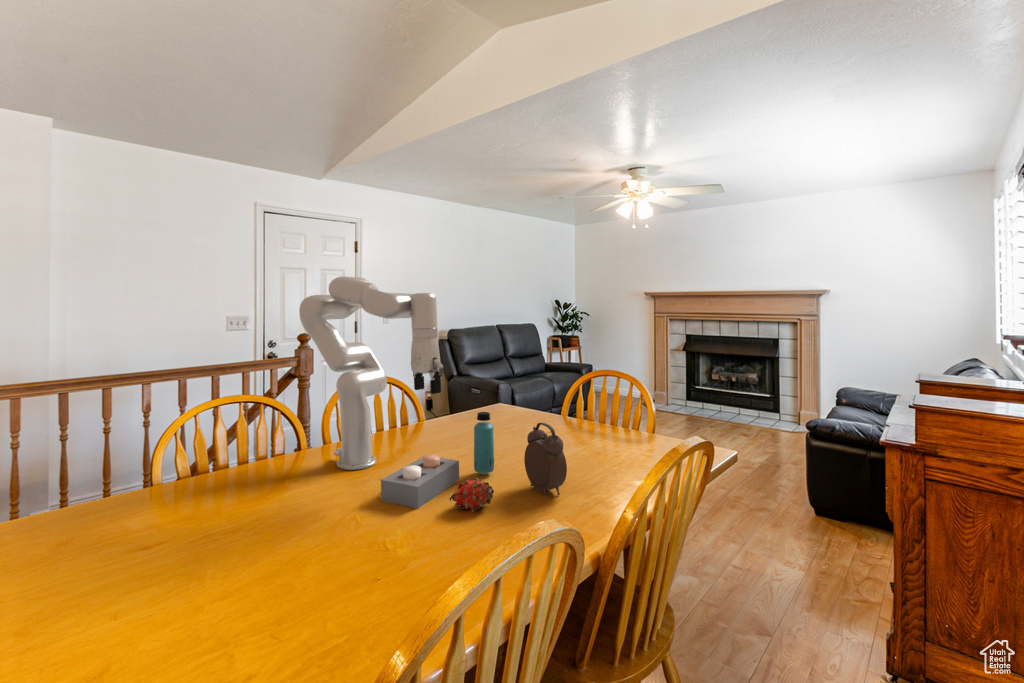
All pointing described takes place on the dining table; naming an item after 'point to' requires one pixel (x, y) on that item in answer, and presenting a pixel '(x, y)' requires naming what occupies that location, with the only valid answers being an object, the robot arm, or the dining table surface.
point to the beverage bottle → (483, 444)
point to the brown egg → (431, 461)
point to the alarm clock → (545, 460)
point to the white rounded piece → (412, 472)
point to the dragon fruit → (472, 494)
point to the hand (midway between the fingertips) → (427, 391)
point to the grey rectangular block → (419, 484)
